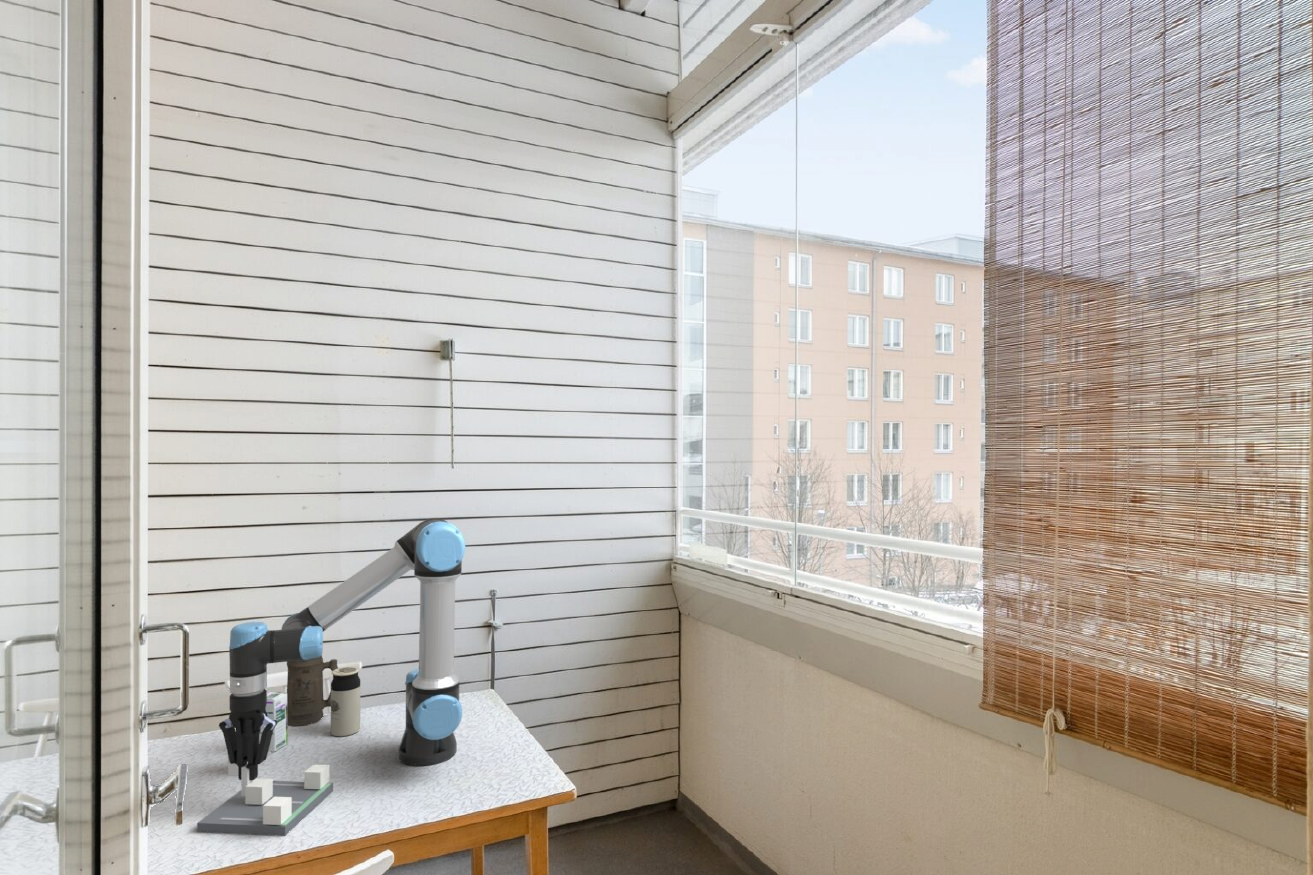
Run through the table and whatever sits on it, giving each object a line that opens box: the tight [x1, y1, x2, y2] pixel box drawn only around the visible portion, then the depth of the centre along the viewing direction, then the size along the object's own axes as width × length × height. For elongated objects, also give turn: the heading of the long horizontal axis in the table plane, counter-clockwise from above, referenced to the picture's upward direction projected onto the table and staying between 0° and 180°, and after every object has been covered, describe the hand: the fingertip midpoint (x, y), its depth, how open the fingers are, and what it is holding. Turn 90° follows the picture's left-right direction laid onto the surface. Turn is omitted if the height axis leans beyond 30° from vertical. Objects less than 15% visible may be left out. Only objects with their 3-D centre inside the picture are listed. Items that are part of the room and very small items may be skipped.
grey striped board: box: [196, 780, 334, 837], centre depth 166 cm, size 20×20×2 cm
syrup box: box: [259, 691, 289, 753], centre depth 200 cm, size 6×6×14 cm
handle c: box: [263, 797, 292, 825], centre depth 157 cm, size 4×4×4 cm
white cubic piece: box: [303, 764, 330, 789], centre depth 173 cm, size 4×4×4 cm
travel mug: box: [330, 666, 361, 737], centre depth 211 cm, size 8×8×18 cm
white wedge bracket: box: [227, 756, 248, 777], centre depth 185 cm, size 4×10×9 cm, turn 168°
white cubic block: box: [245, 777, 274, 805], centre depth 166 cm, size 4×4×4 cm
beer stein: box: [286, 654, 339, 727], centre depth 221 cm, size 15×11×20 cm
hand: (248, 793), depth 166 cm, fingers closed
